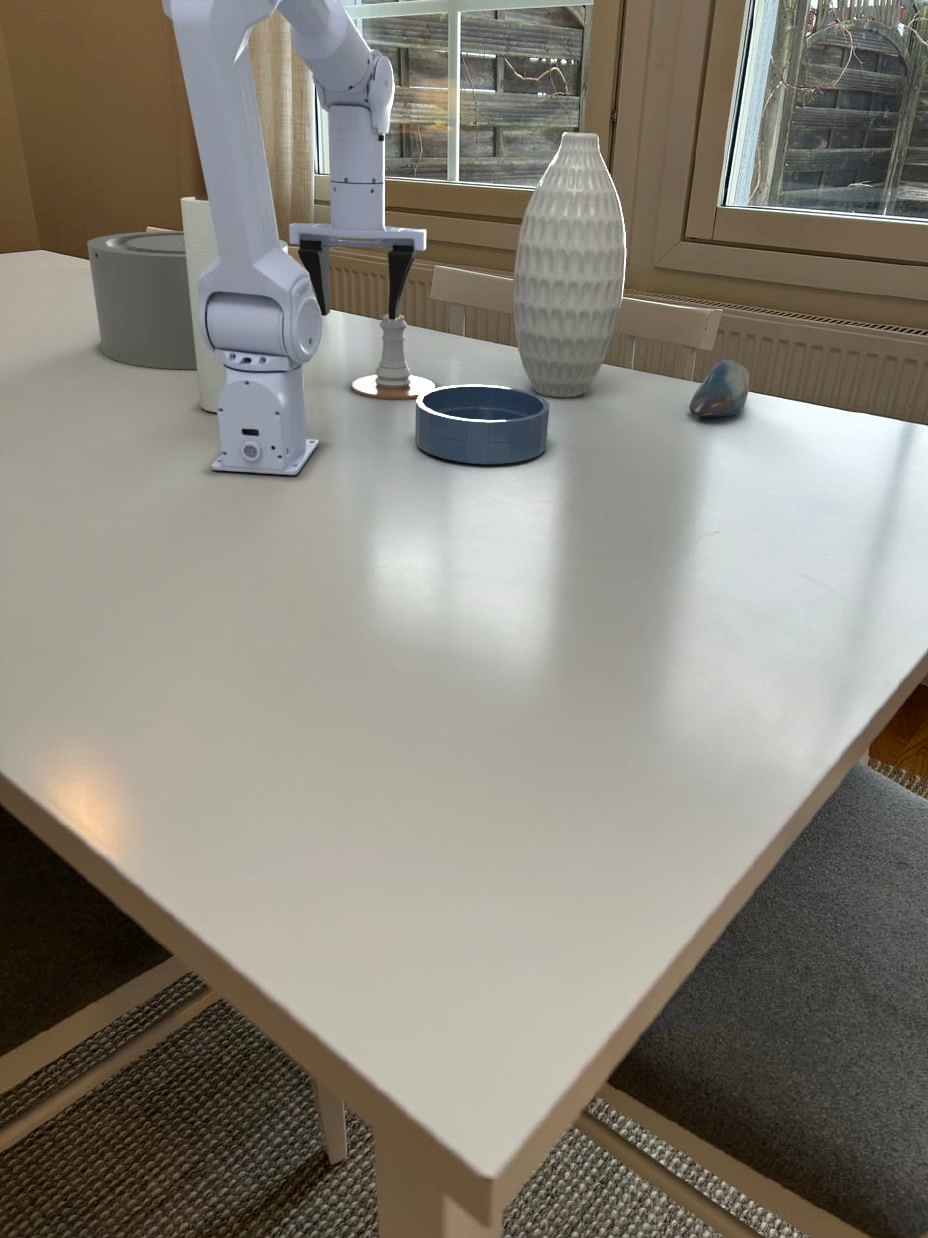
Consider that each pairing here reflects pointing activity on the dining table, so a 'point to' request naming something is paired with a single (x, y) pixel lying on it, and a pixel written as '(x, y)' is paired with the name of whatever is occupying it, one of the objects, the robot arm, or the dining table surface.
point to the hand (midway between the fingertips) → (359, 315)
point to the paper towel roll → (198, 256)
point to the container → (144, 298)
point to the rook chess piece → (393, 355)
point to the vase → (569, 270)
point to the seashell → (722, 391)
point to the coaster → (371, 389)
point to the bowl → (481, 424)
